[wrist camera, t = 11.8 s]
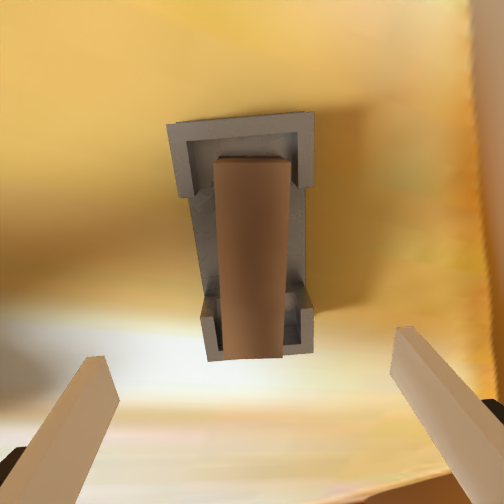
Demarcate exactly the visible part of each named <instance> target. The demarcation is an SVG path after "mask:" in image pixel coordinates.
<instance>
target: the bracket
mask: <svg viewBox="0 0 504 504" xmlns="http://www.w3.org/2000/svg"><path fill="white" fill-rule="evenodd" d="M166 127H167V133H168V138H169V144H170V150H171V155H172V161H173V167H174V172H175V178H176V184H177V189H178V195H179V198H187V197H188V199H189V205H190V211H191V217H192V223H193V229H194V235H195V241H196V248H197V254H198V260H199V266H200V272H201V278H202V284H203V290H204V296H205V298H204V302H203V307H202V311H201V316H200V320H201V326H202V331H203V337H204V343H205V348H206V354H207V360H208V362H211V361H223V360H224V355H223V336H222V318H221V299H220V281H219V262H218V244H217V225H216V207H215V188H214V170H213V163H214V162H215V161H216V160H217V159H218V157H219V156H281V157H283V158H285V159H286V160H288V161H289V162H291V178H290V201H289V223H288V245H287V268H286V290H285V313H284V335H283V355H294V354H306V353H313V336H314V308H313V305H312V303H311V300H310V298H309V295H308V293H307V291H306V251H305V187H314V112H307V113H304V111H303V112H291V113H279V114H268V115H256V116H244V117H232V118H221V119H209V120H197V121H185V122H176V124H166ZM226 360H235V359H226Z"/></svg>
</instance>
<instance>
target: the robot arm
mask: <svg viewBox="0 0 504 504" xmlns="http://www.w3.org/2000/svg"><path fill="white" fill-rule="evenodd" d="M390 375H391V377H392V378H393V380H394V381H395V383H396V384H397V386H398V388H399V389H400V391H401V392H402V394H403V395H404V397H405V399H406V400H407V402H408V403H409V405H410V406H411V408H412V410H413V411H414V413H415V414H416V416H417V418H418V419H419V421H420V422H421V424H422V425H423V427H424V429H425V430H426V432H427V433H428V435H429V436H430V438H431V440H432V441H433V443H434V444H435V446H436V447H437V449H438V451H439V452H440V454H441V455H442V457H443V458H444V460H445V462H446V463H447V465H448V466H449V468H450V469H451V471H452V473H453V474H454V476H455V477H456V479H457V480H458V482H459V484H460V485H461V487H462V488H463V490H464V491H465V493H466V495H467V496H468V498H469V499H470V501H471V503H472V504H504V406H503V405H502V404H500V403H499V402H497V401H496V400H494V399H485V400H480V399H479V398H478V397H477V396H476V395H475V393H474V392H473V391H472V390H471V389H470V388H469V387H468V386H467V385H466V384H465V382H464V381H463V380H462V379H461V378H460V377H459V376H458V375H457V374H456V373H455V371H454V370H453V369H452V368H451V367H450V366H449V365H448V364H447V363H446V362H445V361H444V359H443V358H442V357H441V356H440V355H439V354H438V353H437V352H436V351H435V350H434V348H433V347H432V346H431V345H430V344H429V343H428V342H427V341H426V340H425V339H424V338H423V336H422V335H421V334H420V333H419V332H418V331H417V330H416V329H415V328H414V327H413V326H407V327H397V328H396V333H395V340H394V347H393V355H392V362H391V369H390ZM119 401H120V400H119V397H118V394H117V391H116V388H115V386H114V383H113V380H112V377H111V374H110V371H109V368H108V365H107V363H106V360H105V357H104V356H96V357H87V358H86V359H85V361H84V362H83V364H82V365H81V367H80V368H79V370H78V371H77V373H76V374H75V376H74V377H73V379H72V380H71V382H70V383H69V385H68V386H67V388H66V389H65V391H64V392H63V394H62V395H61V397H60V398H59V400H58V401H57V403H56V404H55V406H54V407H53V409H52V410H51V412H50V413H49V415H48V416H47V418H46V419H45V421H44V422H43V424H42V425H41V427H40V428H39V430H38V431H37V433H36V434H35V436H34V437H33V439H32V440H31V442H30V443H29V445H28V446H27V447H17V448H15V449H14V450H13V451H12V452H11V453H10V454H9V455H8V456H7V457H6V458H5V459H4V460H3V461H1V462H0V504H75V502H76V500H77V498H78V496H79V493H80V491H81V489H82V486H83V484H84V482H85V479H86V477H87V475H88V473H89V470H90V468H91V466H92V463H93V461H94V459H95V456H96V454H97V452H98V450H99V447H100V445H101V443H102V440H103V438H104V436H105V434H106V431H107V429H108V427H109V424H110V422H111V420H112V417H113V415H114V413H115V411H116V408H117V406H118V404H119Z"/></svg>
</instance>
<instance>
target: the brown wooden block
mask: <svg viewBox="0 0 504 504" xmlns="http://www.w3.org/2000/svg"><path fill="white" fill-rule="evenodd" d="M213 170H214V188H215V207H216V225H217V244H218V262H219V281H220V299H221V318H222V336H223V355H224V360H226V359H263V358H282V357H283V335H284V313H285V290H286V268H287V245H288V223H289V201H290V178H291V162H289V161H288V160H286V159H285V158H283V157H281V156H219V157H218V159H217V160H216V161H215V162H214V163H213Z"/></svg>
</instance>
